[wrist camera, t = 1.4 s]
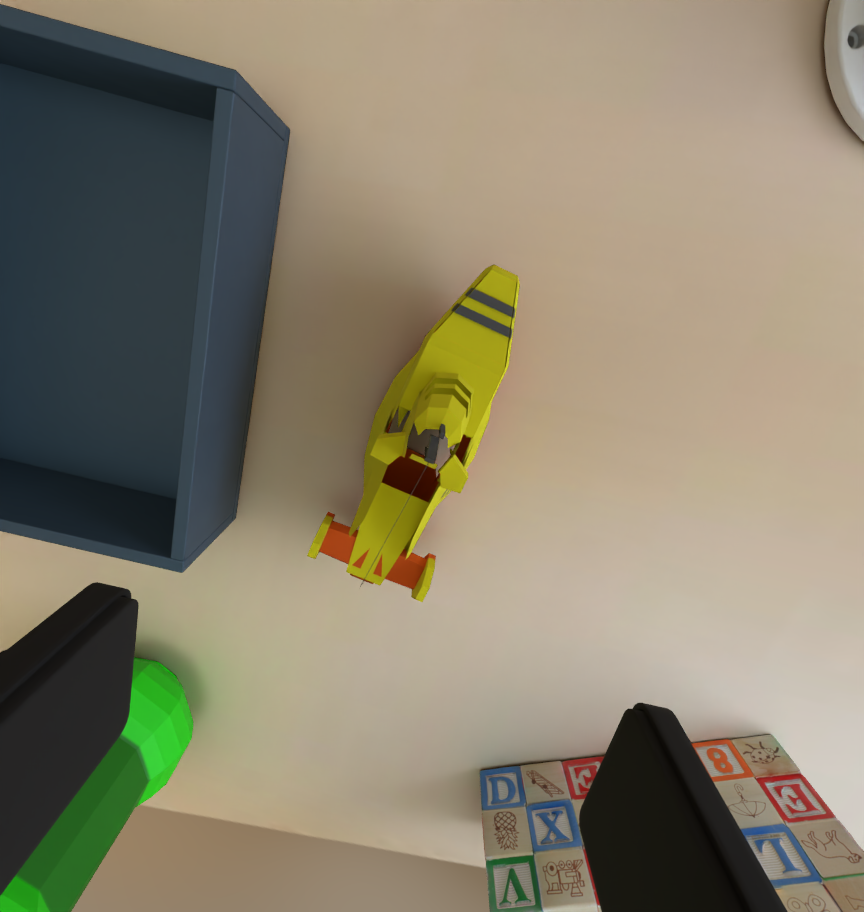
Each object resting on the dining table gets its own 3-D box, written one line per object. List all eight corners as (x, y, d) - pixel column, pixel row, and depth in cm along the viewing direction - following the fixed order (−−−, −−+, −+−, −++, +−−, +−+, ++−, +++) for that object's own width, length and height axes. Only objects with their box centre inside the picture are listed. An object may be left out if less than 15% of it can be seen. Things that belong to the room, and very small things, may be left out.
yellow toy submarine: (324, 529, 31) (270, 630, 22) (441, 249, 26) (438, 218, 16) (416, 567, 32) (404, 681, 22) (548, 301, 27) (606, 300, 17)
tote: (-22, 43, 24) (-190, -51, 17) (290, 129, 24) (236, 69, 18) (-10, 460, 30) (-130, 501, 24) (236, 518, 31) (182, 573, 25)
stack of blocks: (490, 827, 38) (510, 1058, 27) (477, 767, 37) (492, 986, 25) (773, 796, 37) (928, 1029, 25) (774, 731, 35) (942, 949, 23)
